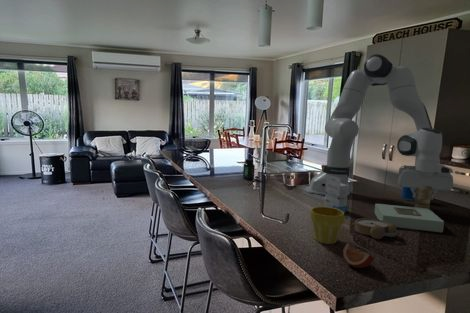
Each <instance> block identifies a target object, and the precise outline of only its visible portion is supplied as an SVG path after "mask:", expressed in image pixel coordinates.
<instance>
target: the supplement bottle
mask: <svg viewBox="0 0 470 313" xmlns="http://www.w3.org/2000/svg"><path fill="white" fill-rule="evenodd" d="M244 162H245V163H244V164H243V166H242V167H243V169H242V170H243V171H242V172H243V175H242V178H243V180H246V181H251V180H255V172H256V171H255V170H256V167H255V166H256V165H255V163H254V159H253V158H252V159H251V158H245V161H244Z"/></svg>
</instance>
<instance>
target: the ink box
mask: <svg viewBox="0 0 470 313" xmlns="http://www.w3.org/2000/svg"><path fill="white" fill-rule="evenodd" d="M331 179H334V180H336V181H332V180H331ZM324 196H325V197H324V207H331V208H336V209H339V210H341V211H343V212H344V213H347V209H348V208H347V206H348V196H349V195H348V185H345V184H342V183H341V179H340V178H336V177H333V176H329V175H327V182H326V194H325V195H324Z"/></svg>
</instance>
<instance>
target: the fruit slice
mask: <svg viewBox="0 0 470 313" xmlns="http://www.w3.org/2000/svg"><path fill="white" fill-rule="evenodd" d="M342 256H343V258H344V260H345V261H346V262H347V263H348V265H349V266H352V267H353V268H355V269H363V268H367V267H369V266H370V265H371V264H372V263H373V262H374V260H375V258H374V257H373V256H372V255H371V254H370V253H367V252H366V251H364V250H361V248H359V249H358V248H356V247H355V246H354V245H352V244H351V243H349V242H346V243H345V245H344V246H343V249H342Z"/></svg>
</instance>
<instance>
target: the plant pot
mask: <svg viewBox="0 0 470 313" xmlns="http://www.w3.org/2000/svg"><path fill="white" fill-rule="evenodd" d="M310 220H311V222H312V227H313V232H314V234H313V235H314V239H315V240H316V241H317V242H318V243H321V244H326V245H333V244H335V243H337V240H338V237H339V234H340V230H341V227H342V225H344V221H345V212H343V211H341V210H339V209H336V208H331V207H325V206H316V207H312V208H311V210H310Z"/></svg>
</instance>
